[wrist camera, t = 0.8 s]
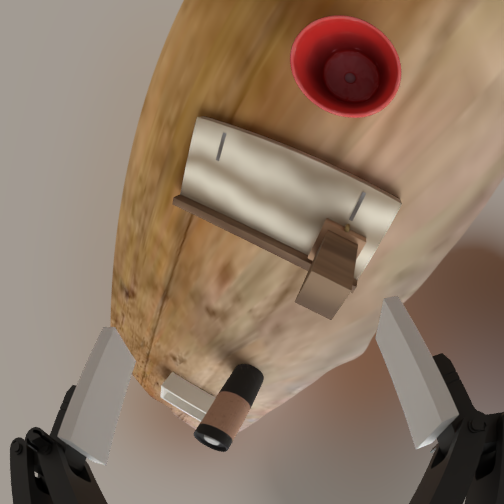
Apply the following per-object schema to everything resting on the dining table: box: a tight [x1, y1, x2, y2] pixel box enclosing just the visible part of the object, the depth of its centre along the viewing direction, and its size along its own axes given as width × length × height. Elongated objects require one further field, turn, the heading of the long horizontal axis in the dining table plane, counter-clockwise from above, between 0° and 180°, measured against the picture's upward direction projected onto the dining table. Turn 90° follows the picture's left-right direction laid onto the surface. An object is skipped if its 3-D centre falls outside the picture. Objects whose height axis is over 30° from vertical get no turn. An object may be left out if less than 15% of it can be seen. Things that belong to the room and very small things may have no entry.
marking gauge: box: [295, 218, 366, 320], centre depth 32 cm, size 7×6×12 cm
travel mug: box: [194, 364, 264, 452], centre depth 53 cm, size 8×8×20 cm
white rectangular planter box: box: [161, 372, 216, 421], centre depth 75 cm, size 9×19×6 cm, turn 72°
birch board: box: [173, 116, 402, 293], centre depth 38 cm, size 14×30×4 cm, turn 72°
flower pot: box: [290, 15, 401, 118], centre depth 24 cm, size 11×11×10 cm
